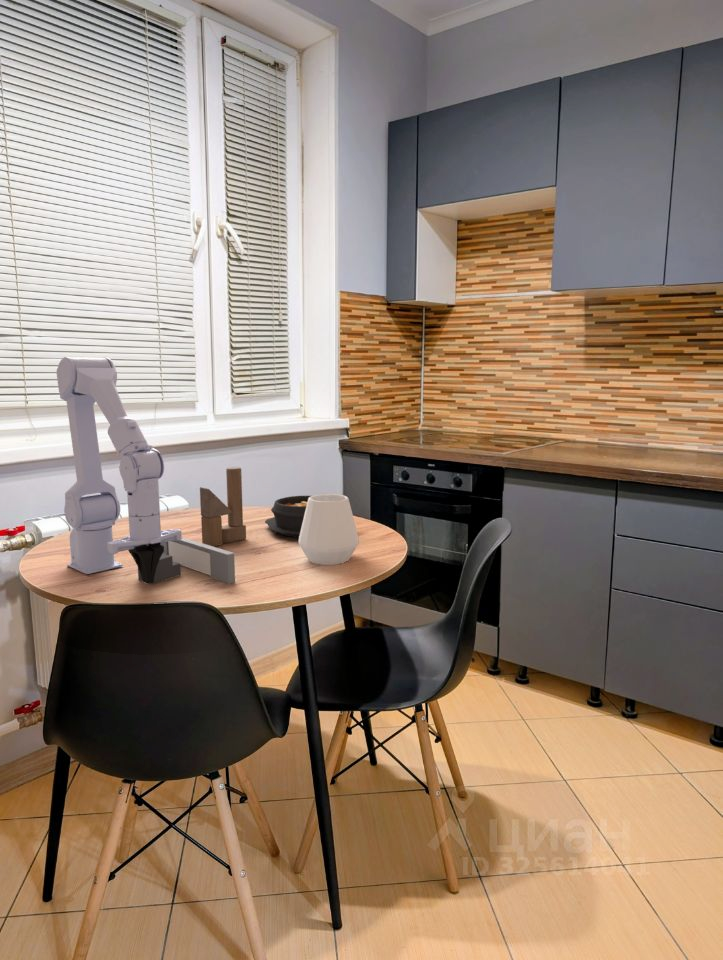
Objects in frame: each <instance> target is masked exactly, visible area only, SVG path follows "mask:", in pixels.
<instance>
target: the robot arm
mask: <svg viewBox="0 0 723 960" xmlns="http://www.w3.org/2000/svg"><path fill="white" fill-rule="evenodd" d="M56 381H57V386H58V388H57V389H58V393H59V398H60V399H61V400H63V401H64V402H66V409H67V415H68V416H67V417H68V423H69V424H68V425H69V429H70V430H69V431H70V437H71V445H72V446H71V447H72V451H73V453H72V454H73V460H74V468H75V475H76V476H75V477H76V481H75V483H74V484H73V485H72V486H71V487H70V488H68V490H67V491H65V493H64V502H65V503H64V509H63V511H64V516H65V520H66V522H67V523H68V525H69V526H70V527H71V528H72V529H71V531H70V534H69V548H70V561H71V562H68V563H67V565H66V566H68V567H70V568H72V569H74V570H76V571H79V572H81V573H83V574H85V575H90V574H94V573H95V574H96V573H100V572H104V571H108V570H111V569H116V568H121V567H123V566H124V565H123V563H121V562H118V561H115V555H116V554H118V553H121V552H125V551H128V552H129V554H130V555H131V557H132V559H133V561H134V562H135V564H136V566H137V570H138V569H139V571H140V574H141V577H142V581H141V582H142V583H145V584H147V585H149V584H151V583H153V582H154V577H155V572H156V568H157V565H158V562H159V560H160V557H161V555H162V554H163V552H164V546H162V545H161V544H160V543H163V542H168V541H172V540H181V539H182V537H183V536H182V530H181V529H178V528H173V529H172V528H171V529H165V530H162V529H161V528H162V526H161V509H160V508H161V506H160V505H161V504H160V489H159V486H160V485H159V480H160V479H161V478H162V476H163V475H164V471H165V463H164V459H163V456H162V454H161V452H160V450H158V449H156V448H154V447H153V445H151V444H150V445H149V443H148V442H147V440H146V438H145V436H144V434H143V432H142V430H141V428H140V427H139V424H138V422H137V421H136V420H135V419H134V418H130V417H128V414H127V412H126V409H125V408H124V407H125V406H124V405H123V402H122V400H121V397H120V394H119V393H118V392H119V391H118V390H117V388H116V386H117V381H118V372H117V368H116V365H115V363H114V362H113V360H112V359H111V358H109V357H107V356H106V357H70V356H65V357H62V358H61V359H60V361H59V363H58V365H57V368H56ZM95 403H96V405H97V406H98V407H99V409H100V411H101V412H102V414H103V416H104V418H105V419H106V420H107V422H108V423H109V426H108V429H107V434H108V437H109V438H110V440H111V443H112V445H113V448H114V449H115V452H116V453H117V455H118V457H119V459H120V460H119V461H120V463H119V466H118V469H119V470H118V471H119V474H120V476H121V478H122V481H123V482H122V483H123V489H124V491H125V492H127V493H126V494H127V495H126V496H127V511H128V527H129V529H128V531H129V535H128V536H125V537H122V538H118V539H116V540H114V536H113V526H115V525H116V521H117V520H118V519H119V517H120V515H121V504H120V501H119V499H118V496H117V493H116V488H115V486H114V485H112V484H111V483H109V482H108V481H106V480H105V479H104V478H103V469H102V462H101V453H100V448H99V439H98V432H97V424H96V417H95V409H94V405H95ZM93 494H94V495H93ZM87 495H88V496H87Z"/></svg>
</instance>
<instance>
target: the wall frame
mask: <svg viewBox="0 0 723 960" xmlns="http://www.w3.org/2000/svg"><path fill="white" fill-rule="evenodd" d="M173 541H176V542H179V543H183V544H186V545H189V546H192V547H195V548H199V549H202V550H205V551H208V552H210V566H211V575H210V578H211V579H212V580H216V581H219V582H221V583H224V584H227V585H231V584H234V583H236V569H235V568H236V566H235V553H234V552H231V551H228V550H225V549H223V548H219V547H217V546H215V547H213V546H209V545H206V544H203V543H202V542H199V541H196V540H193V539H189V538H185V537H183V536H182V539H181V540H173ZM160 544H161V545H162V546H164V552H163V554H165V555H169V548H168V542H163V543H160Z"/></svg>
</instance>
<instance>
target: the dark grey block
mask: <svg viewBox="0 0 723 960" xmlns="http://www.w3.org/2000/svg"><path fill="white" fill-rule="evenodd" d="M181 567H182V565H180V563H177V562H173V561H172V556H170V555H165V554H162V555H161V557H160V560H159V562H158V565H157V568H156V572H155V577H154V582H153V583H150V584H152V585H154V584H158V583H160V582H164V581H166V580H170V579H173V578H176V577H179V576H181V575H182V570H181V569H182V568H181ZM137 574H138V575H137V576H138V577H137V578H138V579H137V580H138V581H141V582H143V581H142V577H141V574H140V571H139V569H138V568H137Z"/></svg>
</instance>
